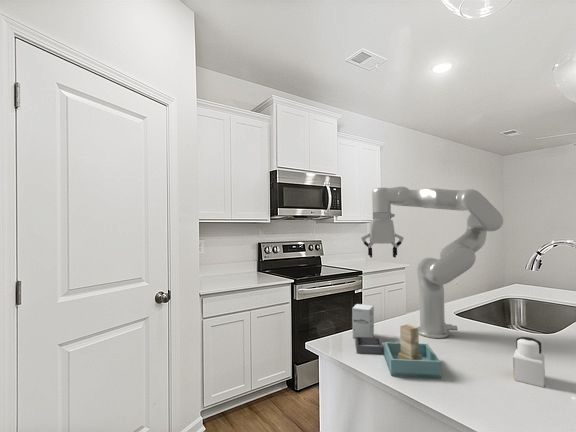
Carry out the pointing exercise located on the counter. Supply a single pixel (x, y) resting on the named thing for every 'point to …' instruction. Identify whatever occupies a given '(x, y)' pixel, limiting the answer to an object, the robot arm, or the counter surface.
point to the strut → (409, 343)
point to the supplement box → (363, 320)
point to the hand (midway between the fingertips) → (382, 257)
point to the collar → (369, 349)
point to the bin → (412, 362)
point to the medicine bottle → (529, 362)
